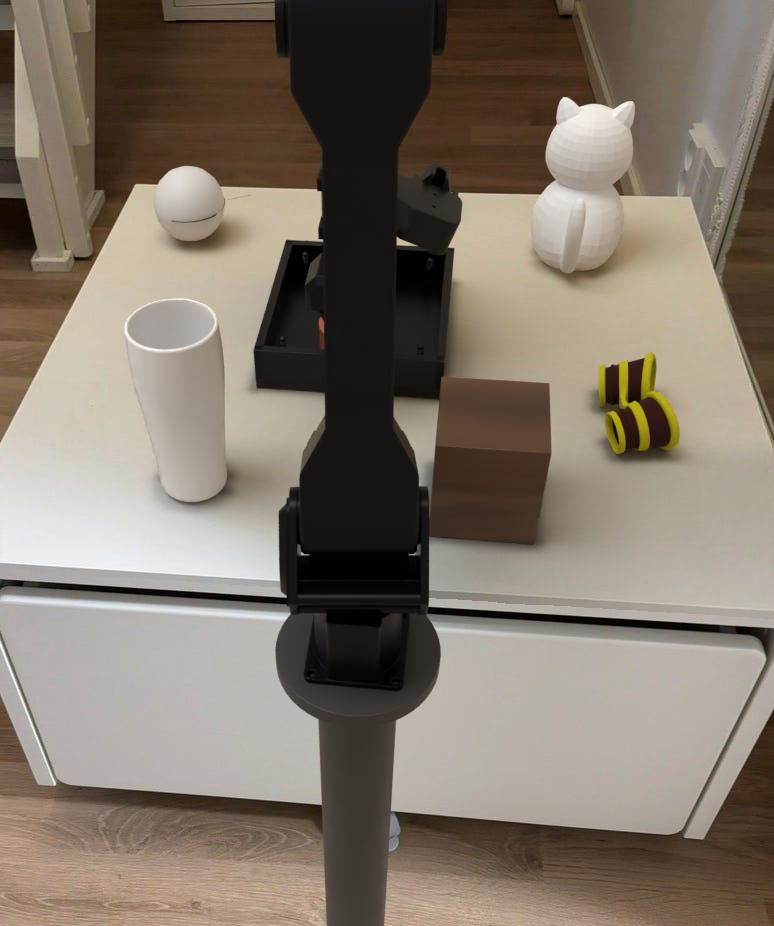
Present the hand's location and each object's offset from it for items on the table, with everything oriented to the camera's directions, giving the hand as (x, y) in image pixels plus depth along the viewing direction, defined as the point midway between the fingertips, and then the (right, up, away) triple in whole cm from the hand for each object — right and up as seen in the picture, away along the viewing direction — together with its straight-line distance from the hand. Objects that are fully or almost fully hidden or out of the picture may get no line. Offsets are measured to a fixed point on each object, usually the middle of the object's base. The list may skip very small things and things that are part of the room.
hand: (355, 324), depth 92 cm
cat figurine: (+22, +10, +12) cm, 27 cm away
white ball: (-15, +13, +17) cm, 26 cm away
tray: (0, 0, +4) cm, 4 cm away
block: (+9, -17, -11) cm, 23 cm away
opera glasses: (+23, -10, -5) cm, 25 cm away
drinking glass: (-13, -15, -9) cm, 22 cm away
